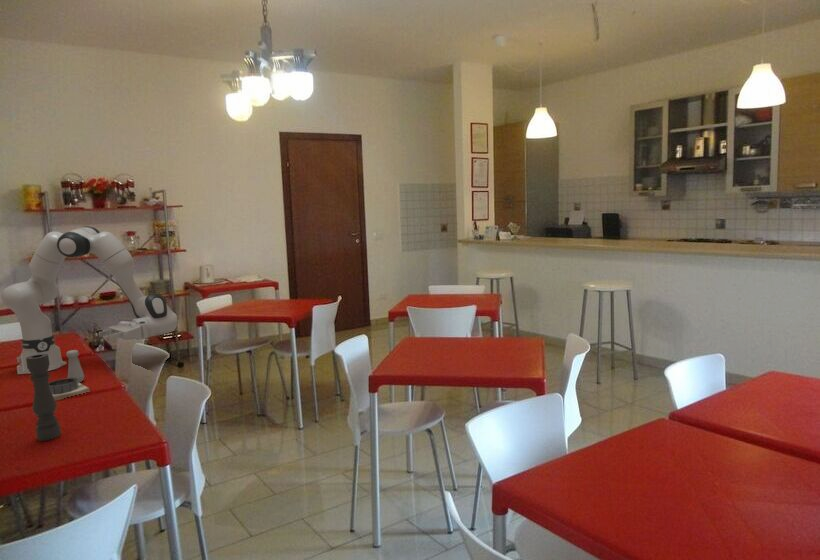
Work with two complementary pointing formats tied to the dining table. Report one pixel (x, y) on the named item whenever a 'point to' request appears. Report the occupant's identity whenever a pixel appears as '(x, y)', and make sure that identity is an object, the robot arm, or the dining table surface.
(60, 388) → the metal collar
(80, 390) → the birch stand
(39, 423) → the candle holder
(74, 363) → the salt shaker
